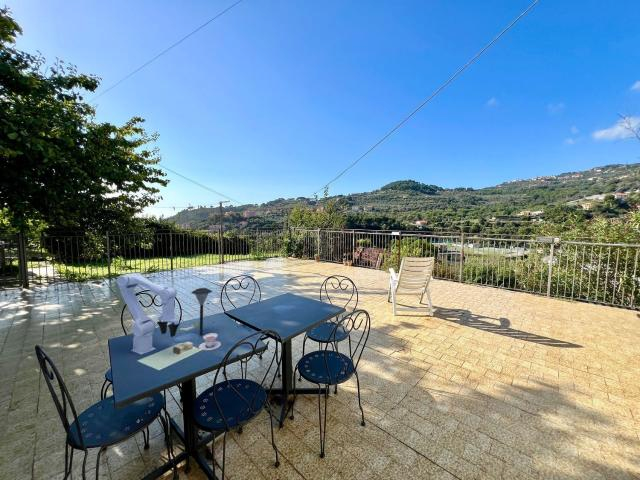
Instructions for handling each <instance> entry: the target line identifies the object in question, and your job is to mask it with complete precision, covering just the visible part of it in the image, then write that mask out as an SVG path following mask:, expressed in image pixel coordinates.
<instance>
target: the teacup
mask: <svg viewBox="0 0 640 480" xmlns="http://www.w3.org/2000/svg"><path fill="white" fill-rule="evenodd" d="M218 336H219V335H218V334H217V333H215V332H214V333H213V332H210V333H207V334H205V335H202V338H203V339H204V342H202V343H201V344H199V346H198V348H199V349H202V350H201V351H213V350H217V349H218V348H220V347H221V346H222V343H221V342H220V341H217V338H218Z"/></svg>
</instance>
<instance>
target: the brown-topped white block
mask: <svg viewBox="0 0 640 480" xmlns="http://www.w3.org/2000/svg"><path fill="white" fill-rule="evenodd" d="M182 343H183V344H180V345H178V346H176V347H173V353H175V354H177V355H179V354H181V353H184V352H186V351H188V350H190V349H193V347H194V343H193V342H191V341H185V342H182Z"/></svg>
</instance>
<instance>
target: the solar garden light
mask: <svg viewBox="0 0 640 480" xmlns="http://www.w3.org/2000/svg"><path fill="white" fill-rule="evenodd" d="M212 292H213V291H212V290H211V289H210V288H209V289H208V288H207V287H198V288H196V289H194V290H193V291H191V294H193V295H195V297H196V299H197V301H198V303H199V307H200V308H199V323H200V326H199V336H200V337H203V336H204V335H203V334H204V333H203V331H204V329H203V327H204V304H205V302H206V300H207V297H208V295H209V294H210V293H212Z"/></svg>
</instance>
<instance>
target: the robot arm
mask: <svg viewBox="0 0 640 480" xmlns="http://www.w3.org/2000/svg"><path fill="white" fill-rule="evenodd" d="M116 284H117V287H118V288H119V291H120V294H121V296H122V298H123V300H124V302H125V305H126V306H127V309H128V310H129V313H130V314H131V316H132V319H133V323H132V325H131V327H132V333H133V339H132V349H131V350H130V351H131V352H133V353H136V354H139V355H143V354H144V355H145V354H146V353H149V352H152V351H154V350H156V349H157V348H155V347H153V334H154V331H155V330H156V325H158V328H159V329H160V333H161V335H165V334H167V330H169V334H170V338H173V337H176V333H177V330H178V328H179V326H180V321H179V320H180V319H177V318H176V317H175V297H176V296H177V294H178V291H177V289H176V288H175V287H173V286H171V287H170V286H167V285H163V284H161V282H160V281H159V282H158V281H156V282H155V281H154V282H152V281H151V280H149V279H147V278H146V277H144V276H143V274H141V273H139V272H132V273H128V274H121V275H119V276H118V278H117V281H116ZM138 285H139V286H142V287H144V288H147V289H149V292H151V293H153V294H154V295H157V296H159V298H160V301H161V309H162V310H161V315H159V316H157V318H158V321H157V322H156V323H155V321H154V320H153V319H152V318H151V317H150V316H147V315H146V314H145V312H144V309H143V308H142V305H141V304H140V301H139V300H138V299H139V298H138V297H137V295H136V294H135V289H136V288H137V287H138ZM168 323H169V324H168ZM167 327H168V329H167Z"/></svg>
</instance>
